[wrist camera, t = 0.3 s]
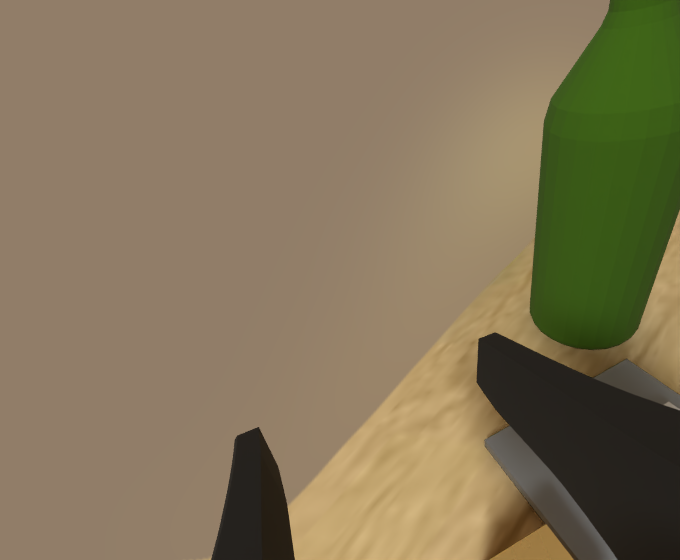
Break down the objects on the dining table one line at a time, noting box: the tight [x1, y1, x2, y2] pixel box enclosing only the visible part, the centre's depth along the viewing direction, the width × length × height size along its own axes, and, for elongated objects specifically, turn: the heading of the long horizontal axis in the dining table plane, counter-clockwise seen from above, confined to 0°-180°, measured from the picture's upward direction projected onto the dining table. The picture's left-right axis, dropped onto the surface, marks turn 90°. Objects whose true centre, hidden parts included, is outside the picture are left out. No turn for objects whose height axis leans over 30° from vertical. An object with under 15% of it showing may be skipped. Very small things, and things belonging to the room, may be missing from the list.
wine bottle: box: [530, 0, 680, 350], centre depth 25 cm, size 9×9×32 cm
